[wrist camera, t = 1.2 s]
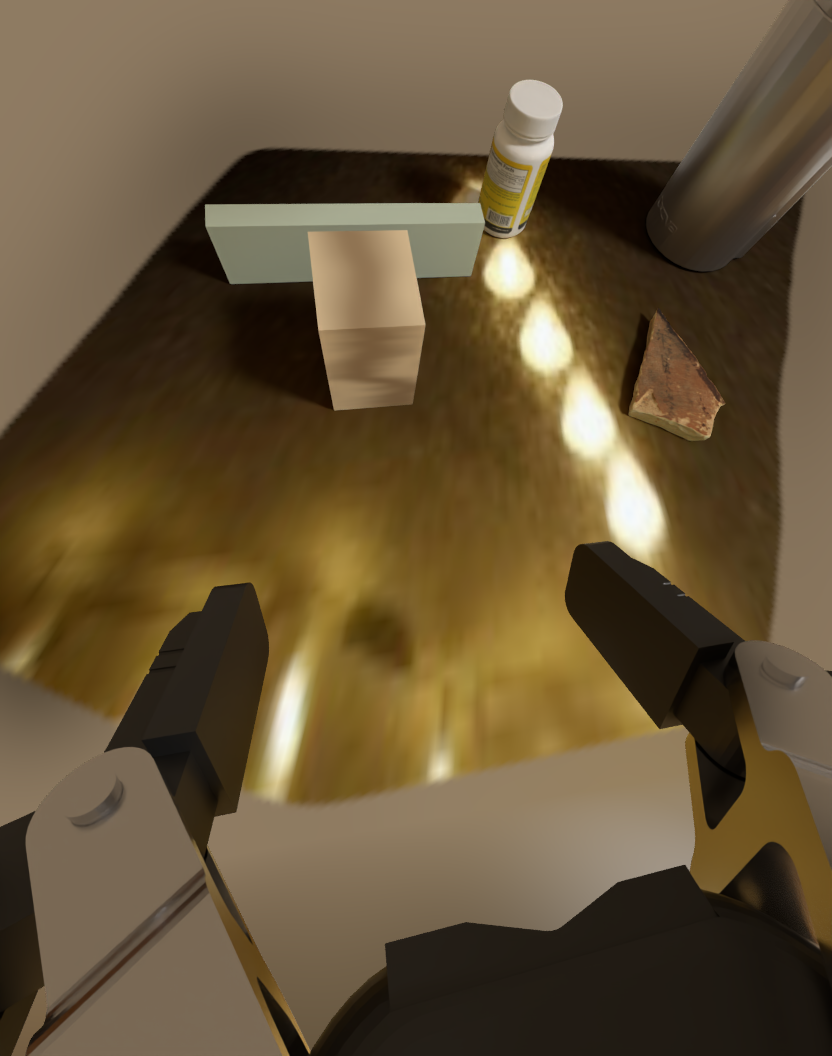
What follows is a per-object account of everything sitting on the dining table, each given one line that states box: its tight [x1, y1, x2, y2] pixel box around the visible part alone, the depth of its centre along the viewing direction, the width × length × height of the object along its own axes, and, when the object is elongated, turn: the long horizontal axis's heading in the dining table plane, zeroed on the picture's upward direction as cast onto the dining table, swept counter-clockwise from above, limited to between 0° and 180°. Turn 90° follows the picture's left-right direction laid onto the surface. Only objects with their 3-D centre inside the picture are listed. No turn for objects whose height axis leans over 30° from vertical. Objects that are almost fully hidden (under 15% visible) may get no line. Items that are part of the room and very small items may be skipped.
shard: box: [628, 308, 725, 441], centre depth 32 cm, size 11×8×2 cm
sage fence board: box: [205, 203, 485, 284], centre depth 30 cm, size 20×2×4 cm, turn 99°
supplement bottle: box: [478, 80, 563, 238], centre depth 31 cm, size 5×5×8 cm
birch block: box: [308, 230, 425, 410], centre depth 26 cm, size 6×7×8 cm
